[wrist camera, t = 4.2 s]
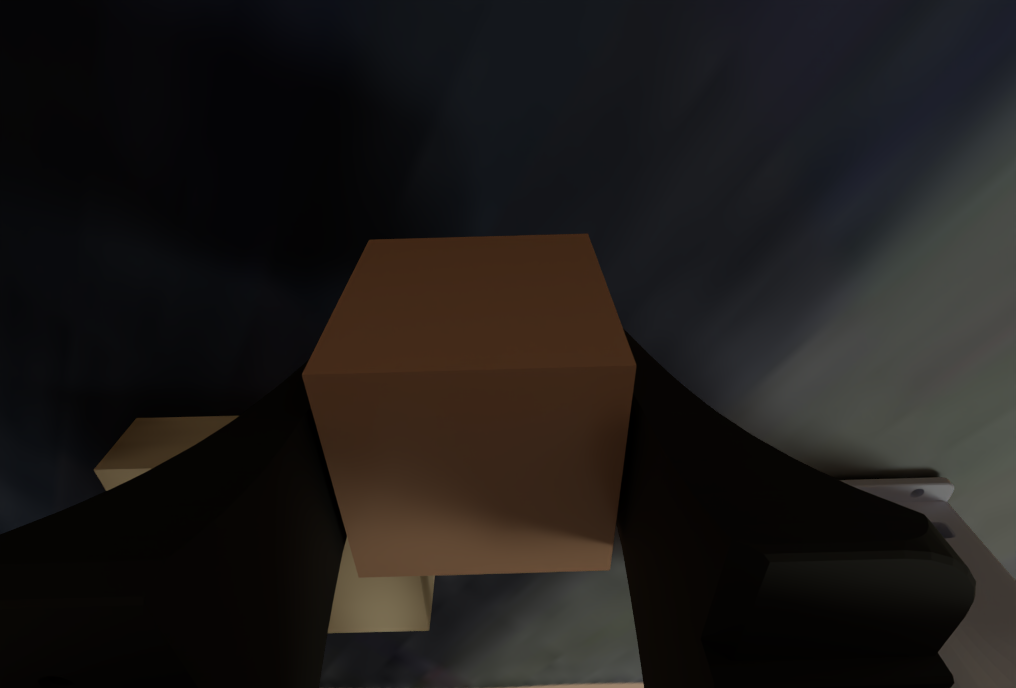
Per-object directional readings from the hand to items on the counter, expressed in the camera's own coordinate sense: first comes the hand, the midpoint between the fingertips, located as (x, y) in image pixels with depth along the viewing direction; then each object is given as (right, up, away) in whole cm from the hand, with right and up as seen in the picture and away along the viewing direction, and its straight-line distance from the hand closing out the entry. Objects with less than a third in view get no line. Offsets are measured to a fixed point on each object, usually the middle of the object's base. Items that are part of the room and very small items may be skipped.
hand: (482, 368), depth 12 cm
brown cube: (0, +1, +1) cm, 2 cm away
